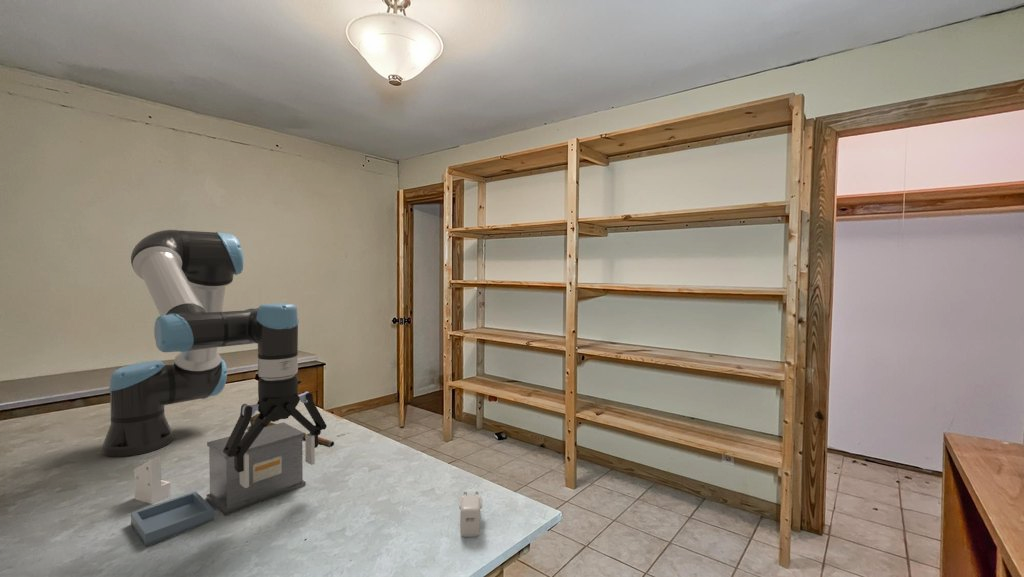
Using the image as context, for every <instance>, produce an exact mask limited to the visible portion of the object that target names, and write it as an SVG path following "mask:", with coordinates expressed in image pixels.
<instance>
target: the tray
mask: <svg viewBox="0 0 1024 577" xmlns="http://www.w3.org/2000/svg"><path fill="white" fill-rule="evenodd" d="M213 521H215V509H214V508H213V507H212V506H211V505H210V504H209V503H208V502H207V500H205V499H204V498H203V497H202V496H201V494H200V493H198V492H197V491H192V492H190V493H187V494H183V495H180V496H178V497H175V498H170V499H169V500H168V499H167V500H165V501H163V502H159V503H155V504H152V505H151V506H148V507H143V508H140V509H138V510H135V511H132V512H130V524H131V526H132V528H133V530H134V531H135V532H136V534H137V535H138V537H139V539H140V540H141V543H142V544H143V546H144V547H149V546H152V545H154V544H157V543H159V542H162V541H165V540H167V539H170V538H173V537H176V536H178V535H180V534H183V533H185V532H188V531H191V530H193V529H195V528H199V527H201V526H203V525H206V524H208V523H212V522H213Z"/></svg>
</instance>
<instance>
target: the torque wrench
mask: <svg viewBox="0 0 1024 577" xmlns="http://www.w3.org/2000/svg"><path fill="white" fill-rule="evenodd" d="M259 414H260V413H256V414H254V415H253V416H251V420H250V422H249V424H250V427H251V426H252V425H253V423H254V422H255V419H256V418H257V416H258V415H259ZM275 424H276V423H275V422H272V421H270V422H269V424H268V425H267V426H265V427H268V426H272V425H275ZM302 432H303V431H302ZM303 433H304V436H303V437H302V439H305V434H306V432H303ZM318 444H321V445H324V446H326V447H327V446H328V447H330V446H331V447H332V446H335V441H333V440H330V439H327V438H324V437H319V436H318Z"/></svg>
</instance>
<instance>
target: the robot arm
mask: <svg viewBox="0 0 1024 577" xmlns="http://www.w3.org/2000/svg"><path fill="white" fill-rule="evenodd" d="M130 264H131V267H132V270H133V272H134V273H135V274H136V276H138V277H139V278H140V279H142V280H144V283H145V285H146V287H147V290H148V292H149V294H150V296H151V298H152V300H153V303H154V305H155V307H156V310H157V312H158V314H159V316H157V317H156V320H155V322H154V328H153V329H154V330H153V331H154V332H153V334H154V340H155V346H156V348H157V350H158V351H160V352H162V353H176V352H179V353H178V354H177V355H176V356H175V357H174V360H173V361H174V362H173V363H171V364H165V363H164V362H163V361H162V360H149V361H142V362H137V363H133V364H128V365H125V366H122V367H119V368H118V369H115V370H114V371H113V372H112V373H111V374H110V377H109V387H108V390H109V394H110V396H109V397H110V398H109V399H110V402H109V403H110V425H109V427H108V430H107V432H106V436H105V437H104V441H103V442H102V454H103V455H104V456H106V457H113V458H114V457H117V458H118V457H129V456H136V455H142V454H145V453H149V452H152V451H156V450H159V449H161V448H163V447H166V446H167V445H169V444H170V443H171V442H173V440H174V439H173V430H172V428H171V426H170V424H169V421H168V420H167V417H166V415H165V406H168V405H173V404H177V403H183V402H190V401H195V400H201V399H202V400H203V399H208V398H210V397H214V396H218V395H219V394H220V393H221V392H222V391H223V390H224V388H225V386H226V382H227V378H228V374H227V371H228V367H227V363H226V361H225V360H224V359H223V358H222V356H221V355H220V354H219V353H218V352H217V351H218V348H224V347H232V346H234V347H235V346H241V345H242V346H243V345H250V344H251V345H252V344H257V376H258V377H259V379H258V380H257V393H258V394H257V397H258V400H257V403H256V404H246V403H243V404H242V405H241V407H240V415H239V417H238V419H237V421H236V423H235V425H234V428H233V429H232V430H231V431H232V432H231V433H230V435H229V436H230V437H229V436H228V437H229V439H228V442H227V444H226V446H225V448H224V450H223V453H225V454H226V455H227V456H229V457H232V456H234V469H235V470H236V471H237V472H238V473H239V472H240V485H242V486H243V487H244V488H247V487H249V455H247V454H246V452H247V450H248V449H249V447H250V446H251V445H252V443H253V442H254V441H255V439H256V438H257V437H258V435H259V434H260V432H261V431H262V430H263V428H264V427H265V426H267V425H268V424H269V422H270V421H271V422H272V423H275V422H278V421H280V420H287V419H289V417H290V416H291V417H293V419H294V420H296V421H297V422H298V423H299V424H301V426H303V427H304V428H305V430H307V431H308V432H307V433H306V432H305V433H306V434H305V438H304V439H305V442H304V444H305V462H306V463H308V464H309V465H311V466H313V465H315V464H316V463H315V461H316V460H315V459H316V458H315V454H316V451H315V448H318V445H319V443H318V437H319V436H320V435H321V433H322V430H326V428H327V423H326V422H325V420H324V418H323V417H322V414H321V413H320V411H319V410H318V407H317V406H316V404H315V402H314V397H313V396H314V395H313V393H311V392H309V391H306V390H304V391H302V393H301V394H298V391H299V377H298V375H297V374H298V372H299V360H298V359H299V354H298V348H299V322H300V321H299V318H298V315H299V314H298V307H297V306H296V304H294V303H286V302H277V303H276V302H272V303H263V304H261V305H259V307H257V308H253V307H252V308H247V309H244V310H232V311H231V310H229V311H223V308H224V307H223V306H224V299H225V293H226V291H225V290H226V287H227V286H229V285H230V284H232V282H233V280H234V276H237V275H240V274H241V273H242V272H243V271H244V270H243V269H244V255H243V249H242V246H241V243H240V241H239V240H238V238H237V237H236V236H235V235H233V234H232V233H224V232H219V231H216V232H214V231H213V232H212V231H199V230H198V231H197V230H196V231H195V230H180V229H179V230H177V229H166V230H165V229H164V230H159V231H156V232H153V233H151V234H149V235H147V236H145V237H144V238H142V239H141V240H140V241H138V243H137V244H136V245H135V246H134V248H133V249H132V252H131V254H130ZM300 402H301V403H302V404H303V406H305V409H306V411H307V412H308V414H309V416H310V418H311V419H312V421H313V422H314V424H315V425H314V424H313V423H312V421H310V420H309V419H307V417H306V416H304V415H303V414H302V413H301V411H300V410H298V409H297V406H298V405H299V403H300ZM257 411H258V412H259V413H258V414H259V415H258V416H257V418H256V419H255V422H254V423H253V425H252V426H251V425H250V428H249V429H248V430H247V428H248V426H249V424H250V420H251V417H252V416H254V415H255V413H256V412H257ZM246 430H247V431H246ZM245 432H247V433H246V434H245V436H244V437H243V435H244V433H245ZM242 437H243V438H242ZM241 439H242V440H241Z"/></svg>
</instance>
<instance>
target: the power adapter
mask: <svg viewBox="0 0 1024 577" xmlns="http://www.w3.org/2000/svg"><path fill="white" fill-rule="evenodd" d="M458 503H459V504H458V509H459V510H460V517H459V518H460V519H459V520H460V521H459V522H460V524H459V525H460V526H459V527H460V528H459V529H460V531H459V533H460V536H461V537H463V538H475V537H476V538H477V537H478V536H479V535H480V528H481V509H482V508H483V498H482V497H481V496H480V495H479V491H475V495H468V493H467V491H464V492H463V495H461V497H460V498H459V502H458Z"/></svg>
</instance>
